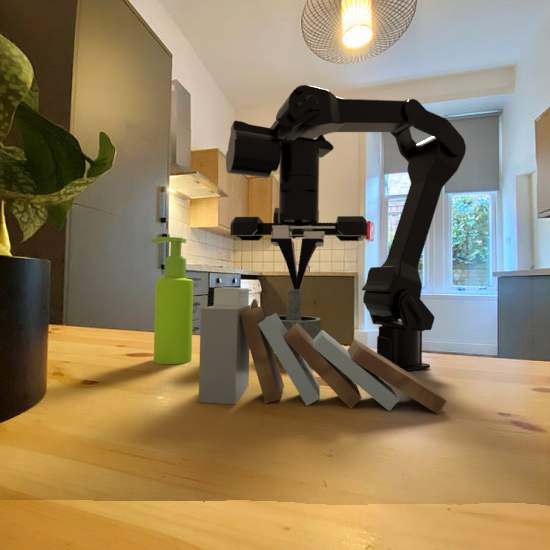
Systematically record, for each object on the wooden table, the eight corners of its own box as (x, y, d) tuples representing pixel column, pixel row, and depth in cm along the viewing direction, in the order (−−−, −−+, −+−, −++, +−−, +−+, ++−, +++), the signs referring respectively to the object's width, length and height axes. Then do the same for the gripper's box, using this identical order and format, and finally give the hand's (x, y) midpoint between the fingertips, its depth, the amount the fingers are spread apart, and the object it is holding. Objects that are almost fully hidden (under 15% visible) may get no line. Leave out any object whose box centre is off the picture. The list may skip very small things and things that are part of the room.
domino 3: (356, 384, 41) (297, 322, 42) (361, 398, 36) (294, 327, 37) (346, 393, 41) (287, 331, 42) (350, 408, 36) (283, 338, 37)
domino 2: (319, 384, 41) (276, 312, 42) (319, 398, 36) (270, 316, 37) (308, 391, 41) (264, 319, 42) (306, 405, 36) (257, 323, 37)
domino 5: (430, 386, 40) (354, 339, 41) (446, 401, 35) (359, 346, 36) (423, 398, 40) (347, 350, 41) (438, 414, 35) (351, 359, 36)
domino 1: (284, 385, 42) (261, 306, 42) (279, 399, 37) (253, 308, 37) (271, 389, 42) (248, 309, 43) (265, 403, 37) (239, 312, 38)
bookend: (248, 385, 43) (250, 305, 44) (235, 404, 36) (237, 309, 37) (217, 383, 44) (219, 304, 44) (198, 402, 37) (200, 308, 37)
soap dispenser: (158, 355, 60) (161, 239, 60) (196, 357, 59) (199, 239, 59) (140, 363, 54) (144, 235, 54) (182, 365, 53) (186, 235, 53)
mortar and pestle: (320, 366, 55) (321, 289, 55) (261, 363, 55) (263, 288, 56) (318, 351, 66) (319, 288, 66) (269, 349, 67) (270, 287, 67)
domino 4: (389, 385, 40) (322, 329, 41) (399, 399, 35) (322, 335, 36) (380, 395, 40) (313, 339, 41) (389, 411, 35) (312, 347, 37)
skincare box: (237, 366, 53) (239, 288, 54) (211, 364, 54) (212, 287, 54) (248, 357, 59) (249, 287, 60) (224, 356, 60) (226, 287, 60)
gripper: (358, 194, 57) (357, 289, 56) (247, 196, 59) (245, 287, 59) (368, 173, 46) (366, 291, 45) (230, 176, 48) (228, 288, 48)
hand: (297, 289), depth 50 cm, fingers closed
